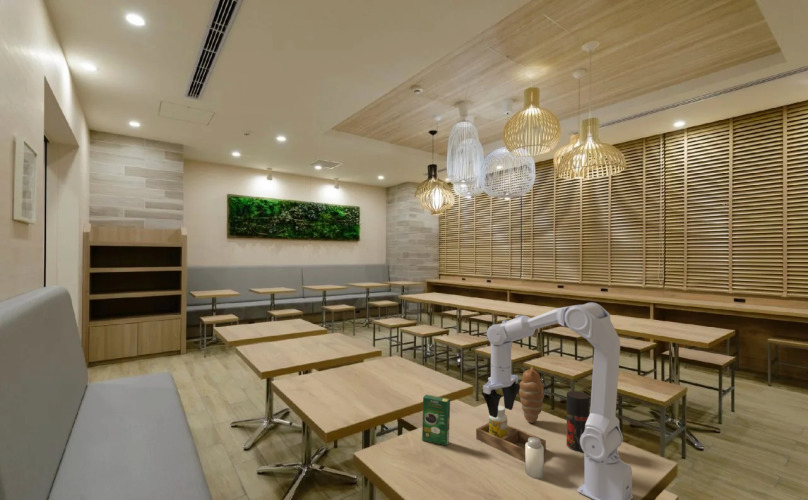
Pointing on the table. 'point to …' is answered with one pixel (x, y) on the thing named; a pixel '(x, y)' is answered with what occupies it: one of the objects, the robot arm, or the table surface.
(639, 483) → the table surface
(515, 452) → the caddy
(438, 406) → the coffee box
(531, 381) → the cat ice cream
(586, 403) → the deodorant
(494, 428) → the supplement bottle
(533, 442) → the shaker
